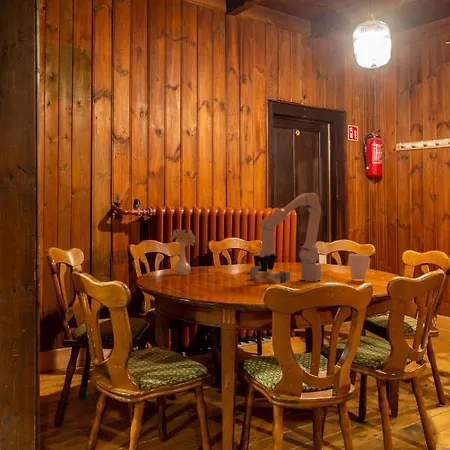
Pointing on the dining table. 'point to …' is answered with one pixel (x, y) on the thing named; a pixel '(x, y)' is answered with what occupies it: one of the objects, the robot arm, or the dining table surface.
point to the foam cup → (358, 265)
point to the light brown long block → (267, 277)
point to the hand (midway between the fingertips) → (267, 270)
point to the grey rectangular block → (253, 270)
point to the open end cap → (284, 276)
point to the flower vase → (182, 250)
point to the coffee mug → (257, 260)
